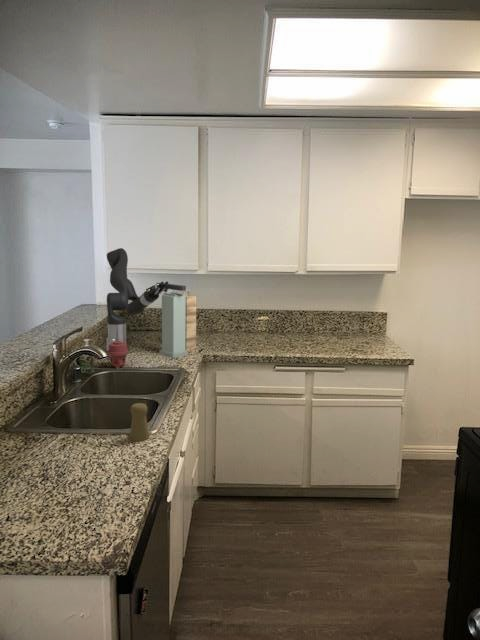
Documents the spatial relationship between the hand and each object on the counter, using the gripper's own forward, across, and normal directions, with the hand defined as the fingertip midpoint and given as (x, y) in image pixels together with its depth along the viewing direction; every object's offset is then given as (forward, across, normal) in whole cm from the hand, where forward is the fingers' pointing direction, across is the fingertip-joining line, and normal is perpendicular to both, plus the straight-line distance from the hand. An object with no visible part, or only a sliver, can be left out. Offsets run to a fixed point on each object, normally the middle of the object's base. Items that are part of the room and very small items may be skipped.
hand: (165, 283), depth 259 cm
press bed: (-20, +15, +32) cm, 41 cm away
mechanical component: (-11, -36, +38) cm, 53 cm away
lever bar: (+2, 0, +5) cm, 5 cm away
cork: (+55, -76, +77) cm, 122 cm away
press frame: (-13, 0, +36) cm, 39 cm away
